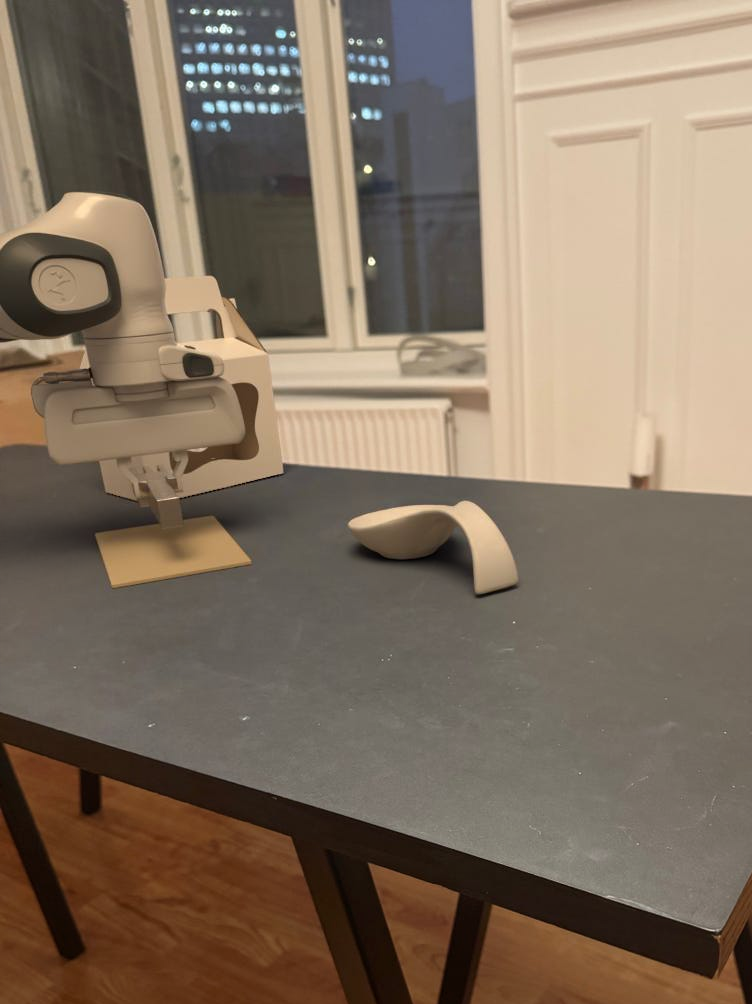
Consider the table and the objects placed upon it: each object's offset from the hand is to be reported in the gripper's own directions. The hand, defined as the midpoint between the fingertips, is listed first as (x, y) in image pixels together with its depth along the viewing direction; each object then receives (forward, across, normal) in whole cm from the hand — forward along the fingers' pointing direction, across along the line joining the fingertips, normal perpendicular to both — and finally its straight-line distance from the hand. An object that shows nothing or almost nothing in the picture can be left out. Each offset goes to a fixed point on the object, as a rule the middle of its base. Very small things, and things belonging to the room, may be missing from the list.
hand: (159, 494), depth 101 cm
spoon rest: (+7, +23, -22) cm, 33 cm away
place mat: (+6, 0, 0) cm, 6 cm away
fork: (+2, 0, +1) cm, 2 cm away
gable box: (+6, +8, +33) cm, 35 cm away
